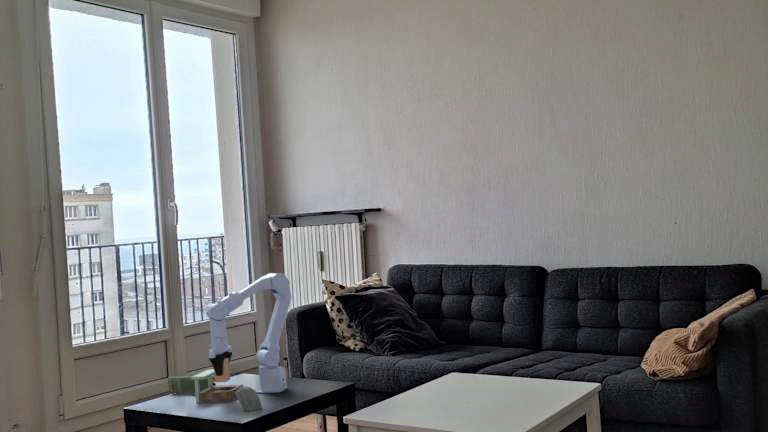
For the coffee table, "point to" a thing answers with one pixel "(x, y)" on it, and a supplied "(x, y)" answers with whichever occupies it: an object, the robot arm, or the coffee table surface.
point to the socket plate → (219, 393)
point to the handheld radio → (186, 384)
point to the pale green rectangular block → (202, 375)
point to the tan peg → (224, 372)
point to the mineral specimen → (248, 398)
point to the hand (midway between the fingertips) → (222, 374)
